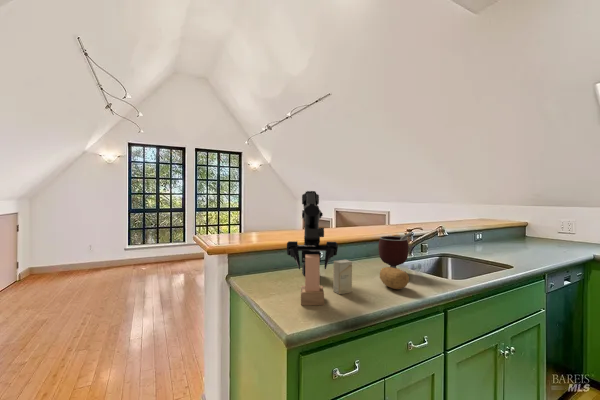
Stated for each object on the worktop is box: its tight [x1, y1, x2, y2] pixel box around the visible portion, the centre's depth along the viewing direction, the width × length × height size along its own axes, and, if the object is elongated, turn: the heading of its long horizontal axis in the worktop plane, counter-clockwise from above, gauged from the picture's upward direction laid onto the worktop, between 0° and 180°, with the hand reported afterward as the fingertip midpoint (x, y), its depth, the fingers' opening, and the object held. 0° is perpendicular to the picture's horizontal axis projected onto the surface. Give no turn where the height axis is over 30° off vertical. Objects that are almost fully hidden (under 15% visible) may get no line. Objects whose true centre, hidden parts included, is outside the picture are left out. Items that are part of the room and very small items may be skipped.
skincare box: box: [332, 259, 353, 295], centre depth 112 cm, size 6×4×12 cm
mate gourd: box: [378, 232, 413, 272], centre depth 138 cm, size 16×14×20 cm
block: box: [304, 254, 321, 291], centre depth 102 cm, size 5×5×12 cm
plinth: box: [300, 285, 325, 306], centre depth 102 cm, size 8×8×4 cm
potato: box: [379, 266, 410, 290], centre depth 116 cm, size 10×14×8 cm
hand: (312, 268), depth 101 cm, fingers open, 9 cm apart
